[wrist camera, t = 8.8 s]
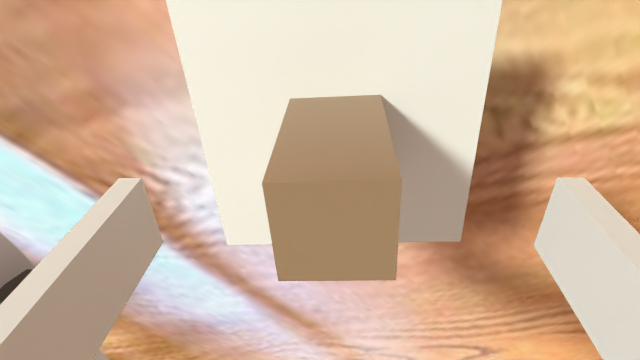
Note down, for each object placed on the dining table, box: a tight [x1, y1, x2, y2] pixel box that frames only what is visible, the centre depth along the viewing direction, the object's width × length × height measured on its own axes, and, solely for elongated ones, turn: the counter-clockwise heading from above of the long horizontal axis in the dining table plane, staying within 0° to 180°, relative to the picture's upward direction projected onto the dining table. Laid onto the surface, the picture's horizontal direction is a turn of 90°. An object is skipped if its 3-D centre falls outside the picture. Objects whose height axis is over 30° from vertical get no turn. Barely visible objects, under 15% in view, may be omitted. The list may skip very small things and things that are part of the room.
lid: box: [166, 0, 502, 281], centre depth 15 cm, size 13×13×8 cm
